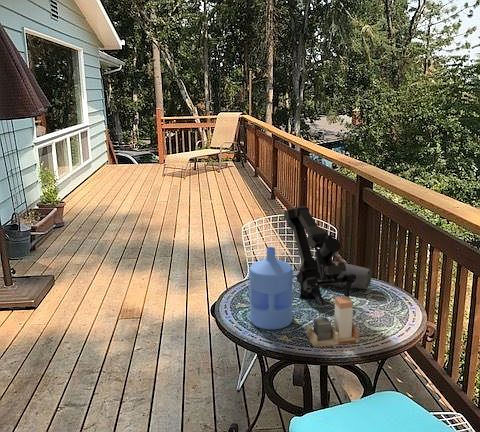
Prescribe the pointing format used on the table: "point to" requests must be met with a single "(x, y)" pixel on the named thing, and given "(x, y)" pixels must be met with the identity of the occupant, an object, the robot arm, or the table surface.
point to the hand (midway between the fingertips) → (335, 304)
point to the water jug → (271, 292)
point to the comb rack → (328, 334)
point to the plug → (343, 317)
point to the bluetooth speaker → (360, 272)
